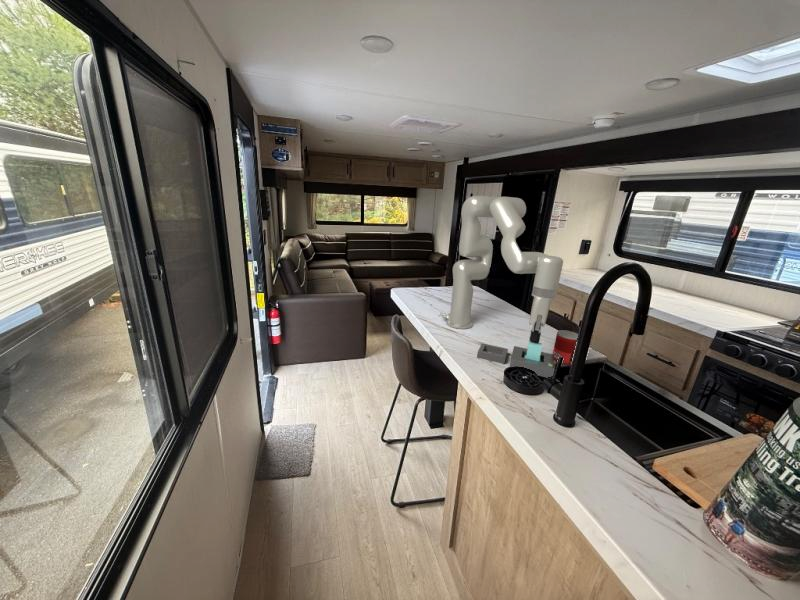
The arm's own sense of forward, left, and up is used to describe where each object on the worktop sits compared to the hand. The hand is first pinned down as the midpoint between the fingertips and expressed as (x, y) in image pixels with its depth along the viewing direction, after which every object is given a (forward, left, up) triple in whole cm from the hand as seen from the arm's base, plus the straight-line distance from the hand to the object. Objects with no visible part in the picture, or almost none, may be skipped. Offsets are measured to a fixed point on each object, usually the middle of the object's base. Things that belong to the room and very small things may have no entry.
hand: (534, 341), depth 110 cm
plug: (+1, 0, -10) cm, 10 cm away
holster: (-13, 0, -10) cm, 16 cm away
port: (+1, -1, -10) cm, 10 cm away
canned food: (+12, +11, -10) cm, 19 cm away
